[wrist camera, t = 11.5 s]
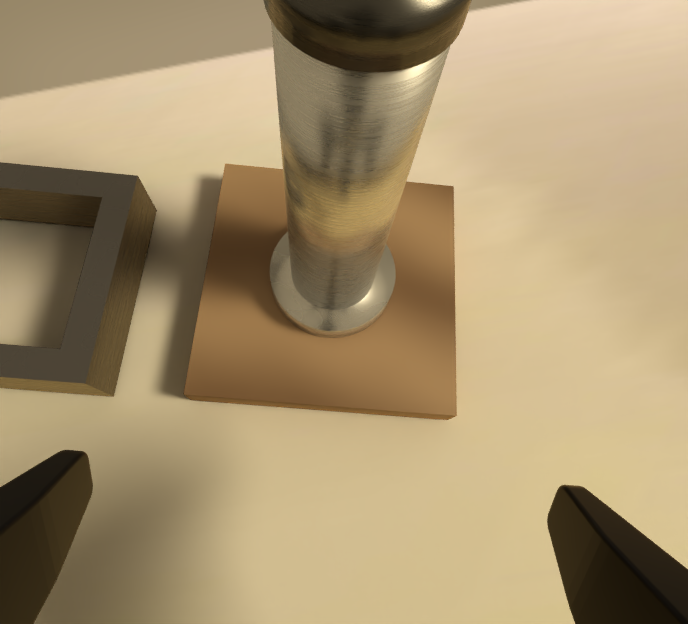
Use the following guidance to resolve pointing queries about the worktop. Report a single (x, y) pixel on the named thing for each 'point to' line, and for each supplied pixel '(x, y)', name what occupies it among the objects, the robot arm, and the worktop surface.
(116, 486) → the worktop surface
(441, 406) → the walnut pad
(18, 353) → the holder
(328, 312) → the capped metal cylinder
